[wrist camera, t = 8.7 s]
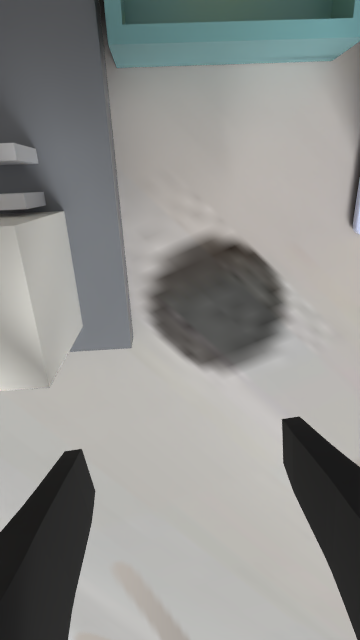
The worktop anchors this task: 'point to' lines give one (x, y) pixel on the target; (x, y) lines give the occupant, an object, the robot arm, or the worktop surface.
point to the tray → (229, 31)
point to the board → (65, 150)
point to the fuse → (35, 299)
